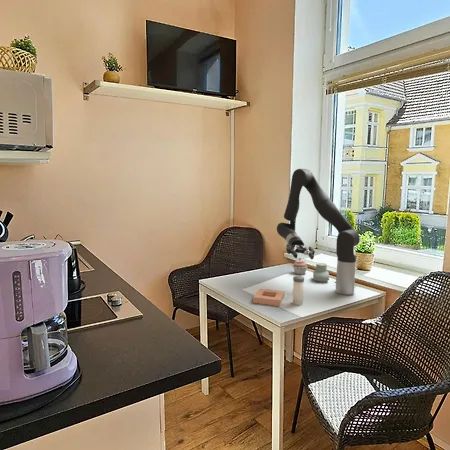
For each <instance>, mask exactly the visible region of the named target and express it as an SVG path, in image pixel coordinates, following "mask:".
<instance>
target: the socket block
mask: <svg viewBox="0 0 450 450" xmlns="http://www.w3.org/2000/svg"><path fill="white" fill-rule="evenodd" d="M284 298H285V290H276V289H267V288H266V289H265V288H258V289H257V291H256V292H255V294H254V296H253V304H257V303H259V304H258V305H266V304H267V306H275V307H281V305H282V302H283V300H284Z"/></svg>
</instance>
